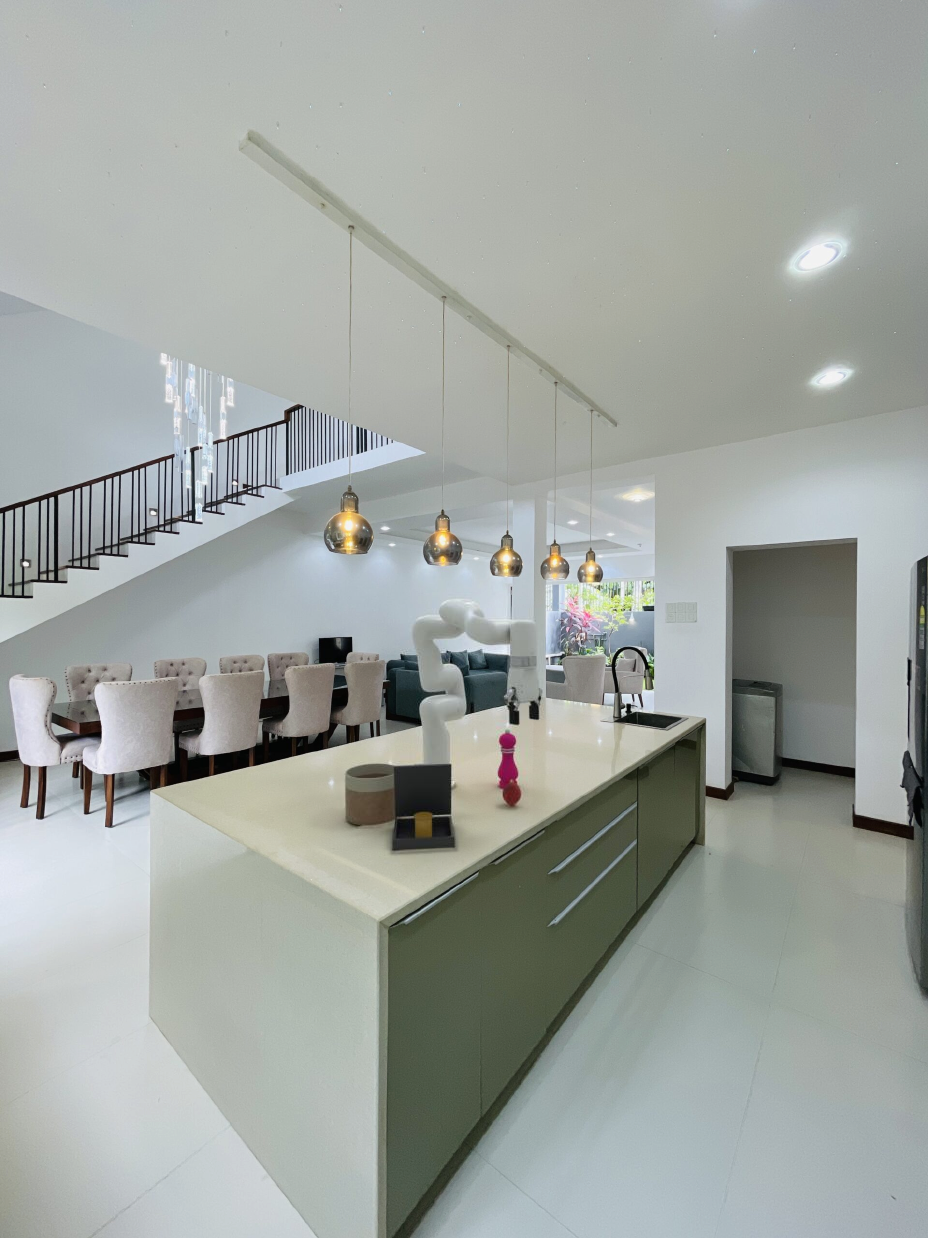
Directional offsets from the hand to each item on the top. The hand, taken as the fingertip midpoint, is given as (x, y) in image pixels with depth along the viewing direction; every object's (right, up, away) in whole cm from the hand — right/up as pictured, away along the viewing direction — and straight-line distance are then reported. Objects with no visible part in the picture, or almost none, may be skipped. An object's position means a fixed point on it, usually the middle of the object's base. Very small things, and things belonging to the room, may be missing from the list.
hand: (524, 721), depth 149 cm
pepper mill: (-2, -29, +31) cm, 42 cm away
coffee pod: (-28, -28, -13) cm, 42 cm away
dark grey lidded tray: (-28, -29, -13) cm, 42 cm away
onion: (-3, -29, +12) cm, 31 cm away
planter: (-44, -29, +4) cm, 53 cm away
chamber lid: (-29, -18, -8) cm, 35 cm away
